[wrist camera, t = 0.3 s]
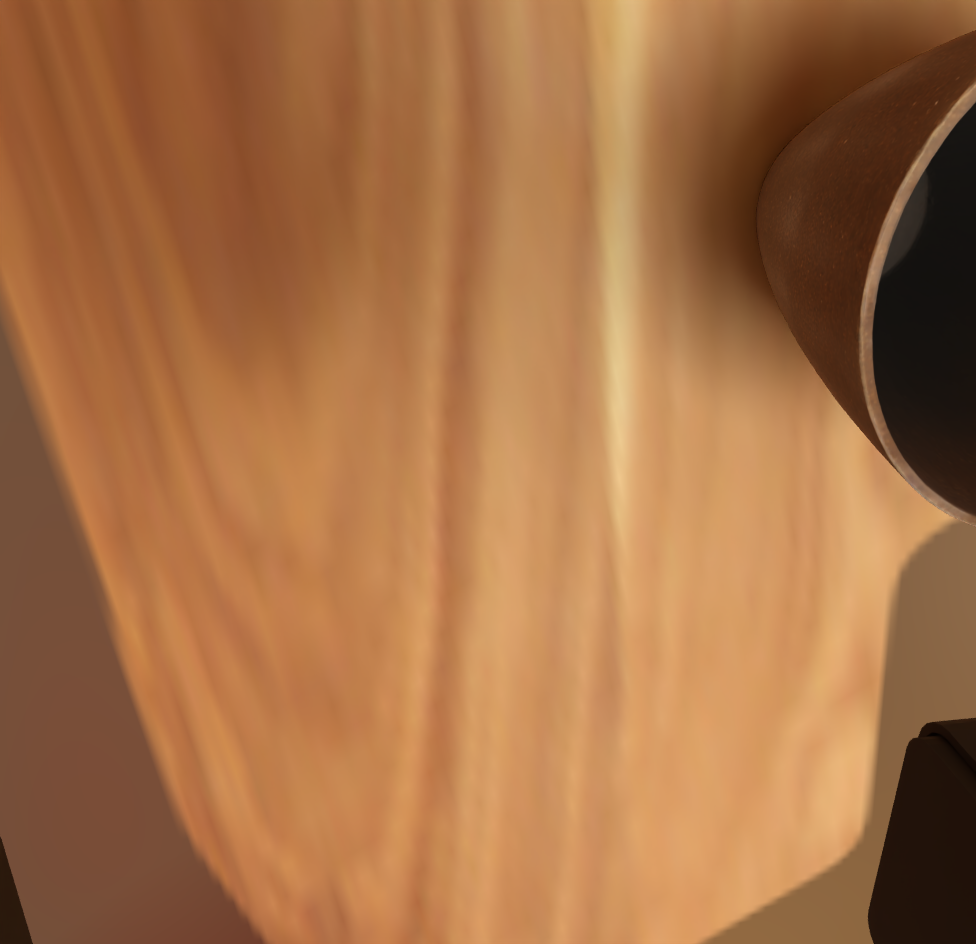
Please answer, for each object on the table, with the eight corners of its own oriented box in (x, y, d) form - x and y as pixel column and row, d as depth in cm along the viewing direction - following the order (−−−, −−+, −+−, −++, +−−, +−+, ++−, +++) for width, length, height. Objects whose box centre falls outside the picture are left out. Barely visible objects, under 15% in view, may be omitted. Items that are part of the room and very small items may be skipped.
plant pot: (660, 30, 35) (879, 7, 20) (1028, -20, 36) (1487, -76, 21) (674, 396, 41) (848, 578, 27) (986, 344, 42) (1318, 492, 28)
